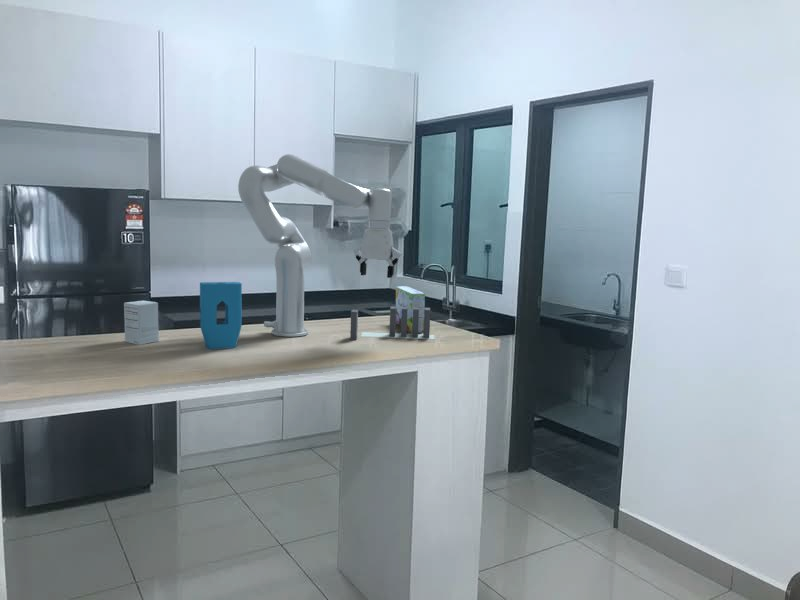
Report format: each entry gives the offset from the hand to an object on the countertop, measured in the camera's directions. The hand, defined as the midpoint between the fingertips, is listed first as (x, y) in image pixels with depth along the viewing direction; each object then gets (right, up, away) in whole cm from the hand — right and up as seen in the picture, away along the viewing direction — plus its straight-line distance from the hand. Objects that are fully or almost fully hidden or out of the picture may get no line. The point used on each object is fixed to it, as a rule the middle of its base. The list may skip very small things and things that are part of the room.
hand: (376, 276), depth 214 cm
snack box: (+11, -19, +27) cm, 35 cm away
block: (-48, -23, -18) cm, 56 cm away
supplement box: (-74, -22, -15) cm, 78 cm away
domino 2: (+5, -21, +9) cm, 23 cm away
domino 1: (-8, -22, +1) cm, 23 cm away
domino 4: (+13, -21, +9) cm, 26 cm away
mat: (+7, -21, +9) cm, 24 cm away
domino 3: (+9, -21, +9) cm, 24 cm away
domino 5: (+17, -21, +9) cm, 29 cm away
